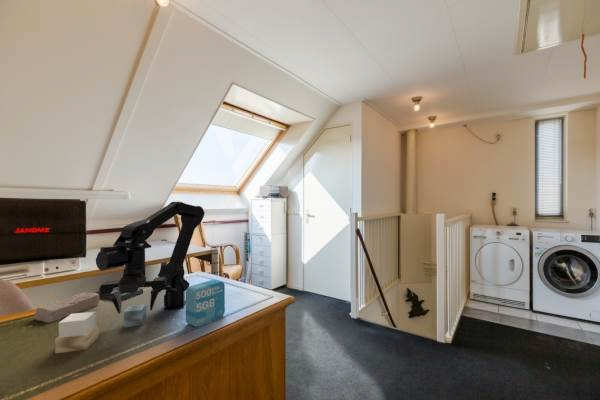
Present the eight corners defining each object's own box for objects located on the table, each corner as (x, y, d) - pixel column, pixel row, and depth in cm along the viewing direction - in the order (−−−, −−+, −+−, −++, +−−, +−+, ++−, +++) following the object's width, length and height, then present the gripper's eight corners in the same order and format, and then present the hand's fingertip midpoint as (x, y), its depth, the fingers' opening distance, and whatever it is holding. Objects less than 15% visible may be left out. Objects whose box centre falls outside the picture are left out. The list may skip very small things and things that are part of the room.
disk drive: (94, 299, 114) (122, 302, 110) (94, 292, 114) (122, 295, 110) (117, 291, 124) (144, 293, 120) (117, 285, 124) (143, 287, 120)
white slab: (95, 325, 80) (95, 311, 80) (85, 335, 74) (85, 320, 74) (71, 327, 78) (71, 313, 79) (58, 337, 73) (58, 322, 73)
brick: (50, 323, 90) (50, 309, 91) (33, 320, 93) (33, 306, 93) (100, 305, 106) (100, 293, 106) (84, 303, 109) (84, 291, 109)
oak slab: (98, 337, 81) (98, 324, 81) (86, 350, 74) (86, 335, 74) (70, 341, 79) (69, 327, 79) (55, 354, 72) (55, 339, 72)
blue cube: (146, 319, 93) (146, 304, 93) (141, 325, 88) (141, 310, 88) (129, 321, 92) (129, 305, 92) (123, 327, 87) (123, 311, 87)
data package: (193, 328, 85) (193, 289, 85) (185, 325, 88) (185, 287, 88) (225, 315, 95) (224, 280, 95) (216, 312, 98) (216, 278, 98)
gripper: (89, 271, 80) (90, 326, 80) (160, 267, 84) (161, 318, 84) (106, 263, 90) (106, 311, 90) (168, 259, 95) (168, 305, 95)
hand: (135, 311), depth 90 cm, fingers open, 9 cm apart
